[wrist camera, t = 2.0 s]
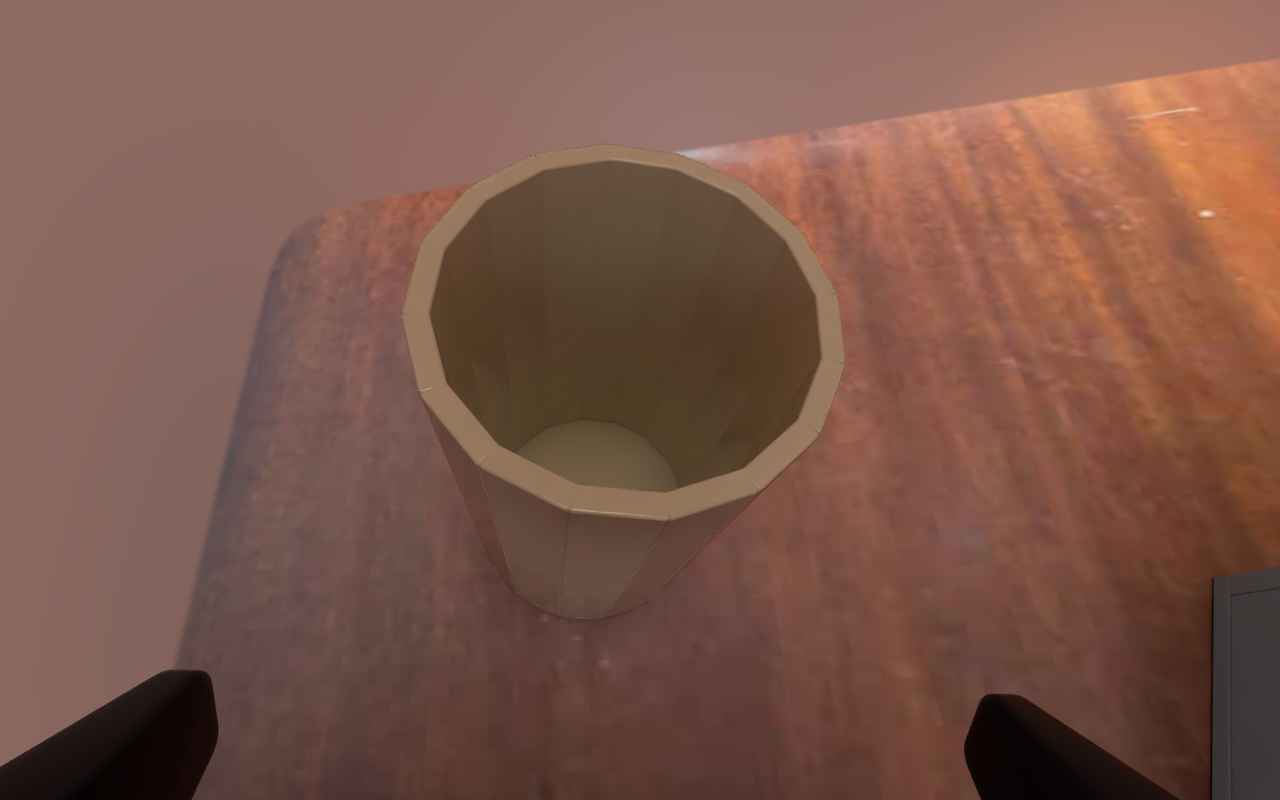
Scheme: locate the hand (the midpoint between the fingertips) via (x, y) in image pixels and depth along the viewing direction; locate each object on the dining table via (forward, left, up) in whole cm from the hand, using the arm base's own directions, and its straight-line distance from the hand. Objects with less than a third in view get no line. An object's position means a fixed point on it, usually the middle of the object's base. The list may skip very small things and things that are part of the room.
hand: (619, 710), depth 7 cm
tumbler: (+5, +2, -12) cm, 13 cm away
